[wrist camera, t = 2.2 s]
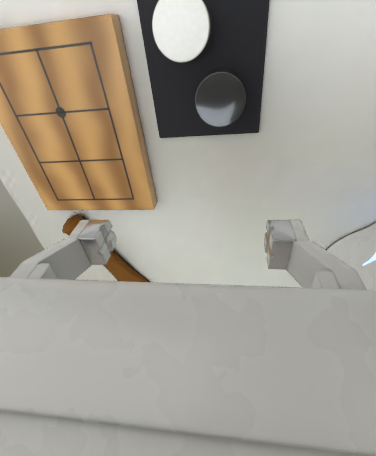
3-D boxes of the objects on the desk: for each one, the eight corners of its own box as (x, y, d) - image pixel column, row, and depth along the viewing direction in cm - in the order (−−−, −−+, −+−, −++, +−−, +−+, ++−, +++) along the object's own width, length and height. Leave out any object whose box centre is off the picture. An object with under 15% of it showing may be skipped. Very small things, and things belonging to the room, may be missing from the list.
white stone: (210, -13, 20) (208, -18, 18) (212, 56, 23) (210, 59, 21) (155, -5, 21) (146, -8, 18) (164, 61, 24) (157, 65, 21)
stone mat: (271, -34, 19) (272, -35, 19) (258, 131, 27) (258, 132, 27) (135, -13, 21) (134, -13, 21) (160, 136, 29) (159, 138, 28)
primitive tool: (153, 286, 47) (149, 301, 44) (131, 291, 49) (125, 307, 46) (83, 209, 37) (71, 223, 34) (59, 220, 39) (46, 235, 37)
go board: (118, 14, 22) (111, 13, 21) (157, 202, 35) (154, 209, 33) (-33, 35, 25) (-48, 36, 23) (54, 203, 37) (47, 210, 36)
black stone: (245, 64, 23) (247, 69, 21) (243, 117, 26) (244, 125, 23) (196, 69, 24) (192, 74, 21) (199, 119, 27) (196, 128, 24)
